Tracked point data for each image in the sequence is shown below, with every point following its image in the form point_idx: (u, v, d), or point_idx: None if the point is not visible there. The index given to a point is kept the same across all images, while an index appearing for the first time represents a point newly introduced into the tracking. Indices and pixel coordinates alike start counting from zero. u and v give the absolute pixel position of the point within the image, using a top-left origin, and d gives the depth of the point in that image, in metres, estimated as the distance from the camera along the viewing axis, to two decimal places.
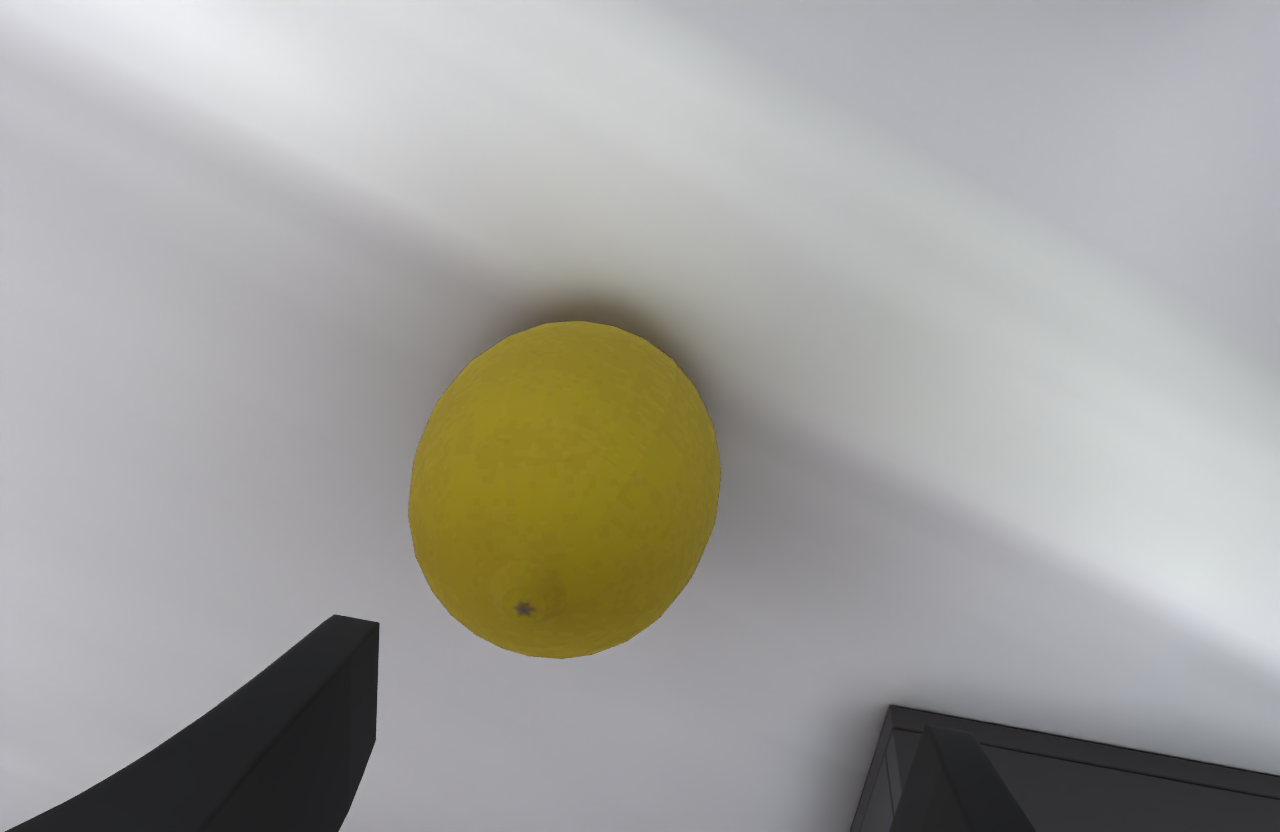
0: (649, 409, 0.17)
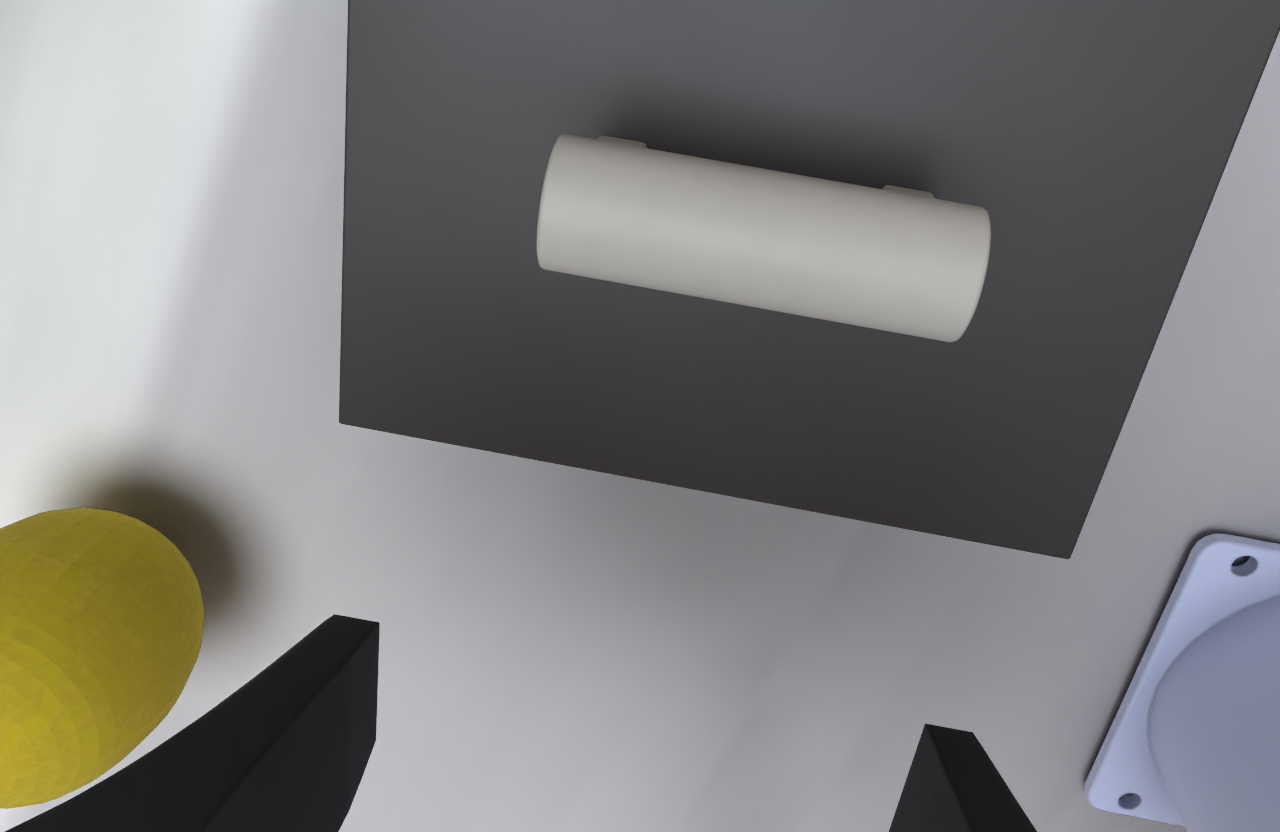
0: None
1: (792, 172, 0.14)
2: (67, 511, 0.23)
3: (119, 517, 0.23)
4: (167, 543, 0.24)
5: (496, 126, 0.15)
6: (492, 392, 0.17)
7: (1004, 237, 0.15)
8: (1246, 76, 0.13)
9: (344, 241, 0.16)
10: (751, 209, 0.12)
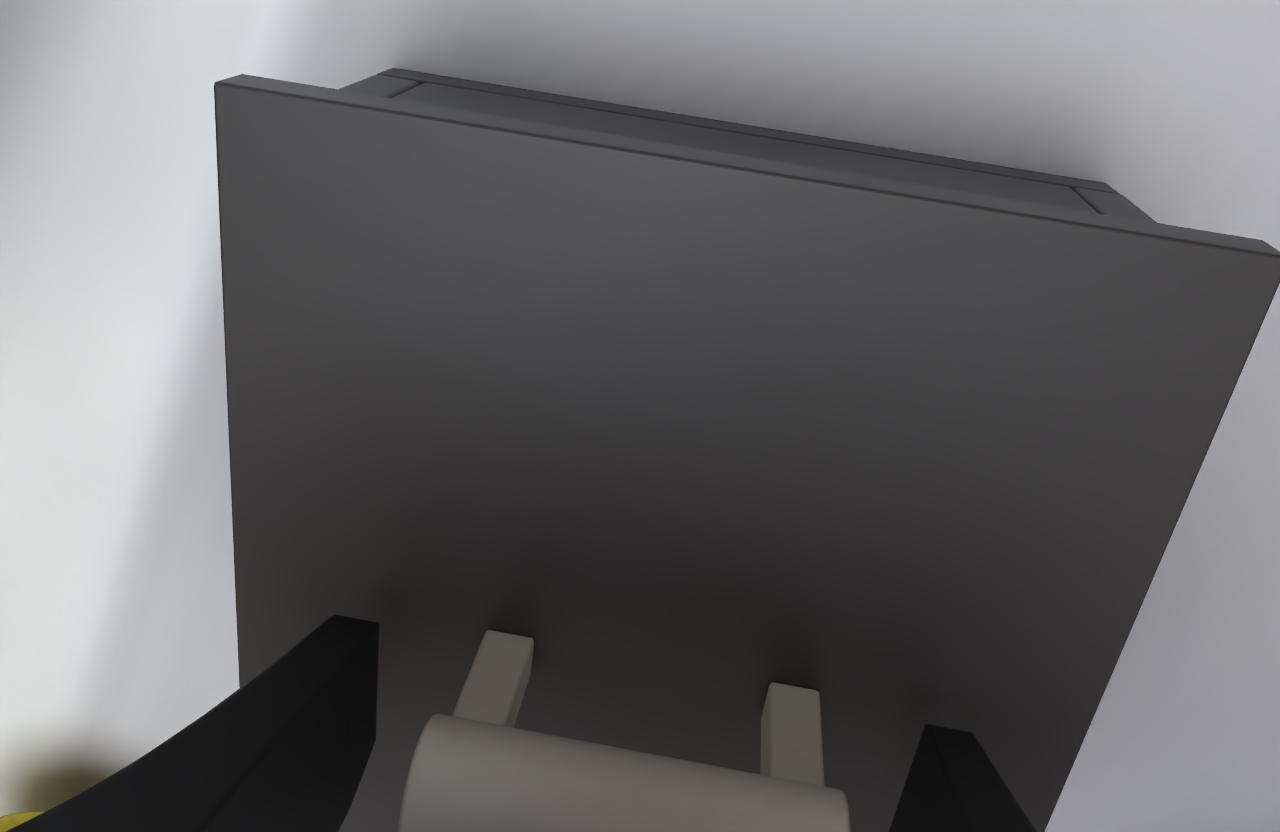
0: None
1: (679, 667, 0.14)
2: (2, 829, 0.23)
3: None
4: None
5: (384, 616, 0.15)
6: (395, 829, 0.17)
7: (893, 728, 0.15)
8: (1124, 610, 0.13)
9: None
10: (608, 830, 0.12)
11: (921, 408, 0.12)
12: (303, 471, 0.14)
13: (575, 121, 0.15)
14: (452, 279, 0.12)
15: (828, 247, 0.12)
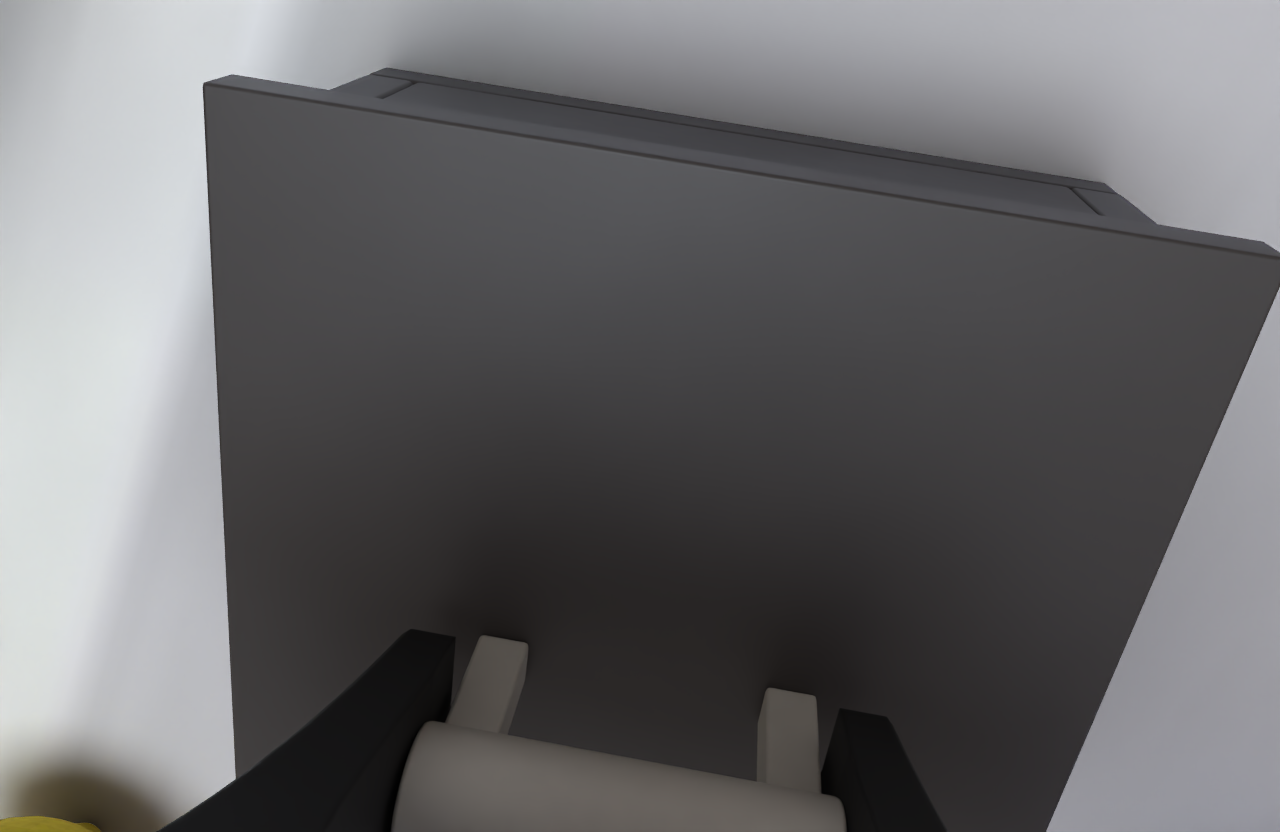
0: None
1: (675, 673, 0.14)
2: None
3: None
4: None
5: (377, 622, 0.15)
6: None
7: None
8: (1123, 614, 0.13)
9: (233, 708, 0.16)
10: None
11: (918, 411, 0.12)
12: (295, 475, 0.14)
13: (569, 121, 0.15)
14: (444, 282, 0.12)
15: (824, 249, 0.12)
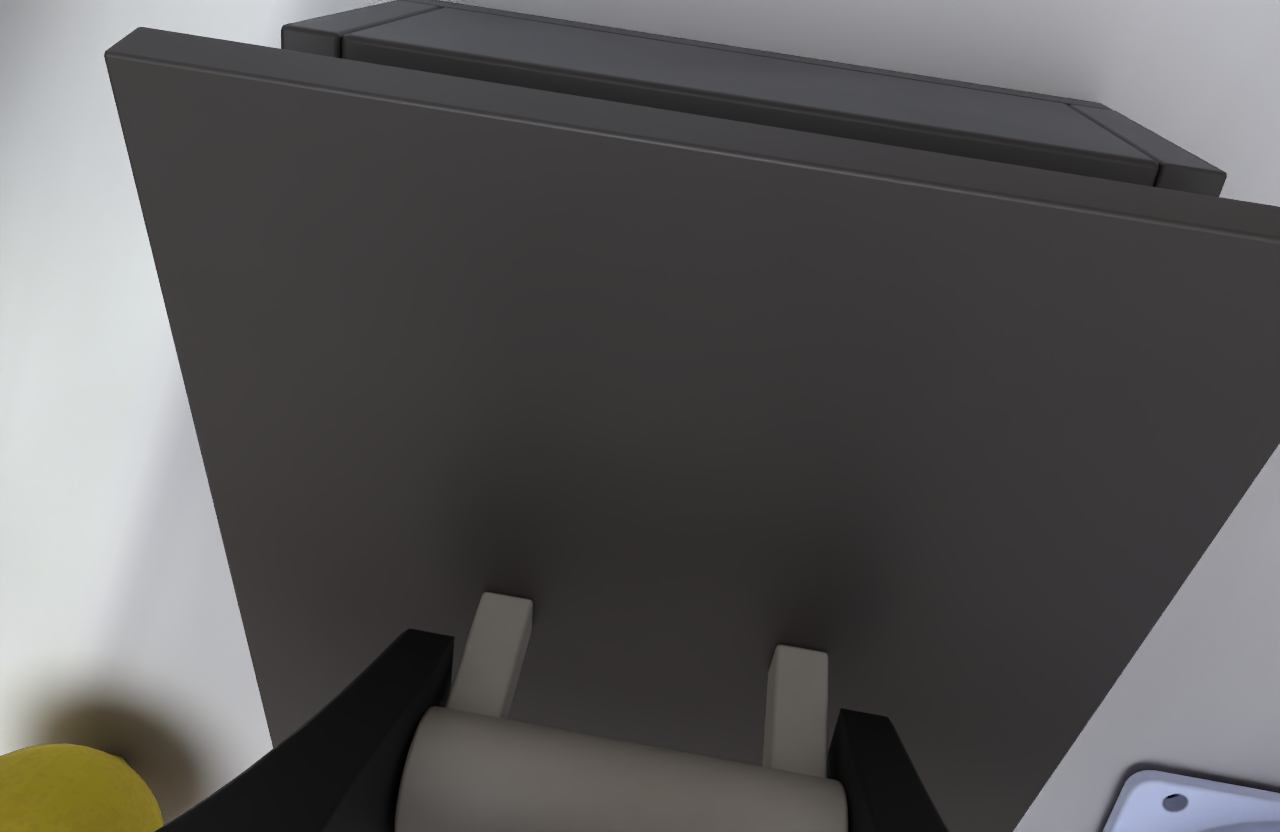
0: None
1: (683, 629, 0.14)
2: (28, 756, 0.24)
3: (80, 757, 0.24)
4: (128, 778, 0.25)
5: (378, 577, 0.14)
6: None
7: (903, 685, 0.14)
8: (1158, 595, 0.12)
9: (248, 642, 0.16)
10: None
11: (946, 405, 0.11)
12: (275, 448, 0.13)
13: (590, 38, 0.16)
14: (410, 268, 0.11)
15: (843, 241, 0.10)
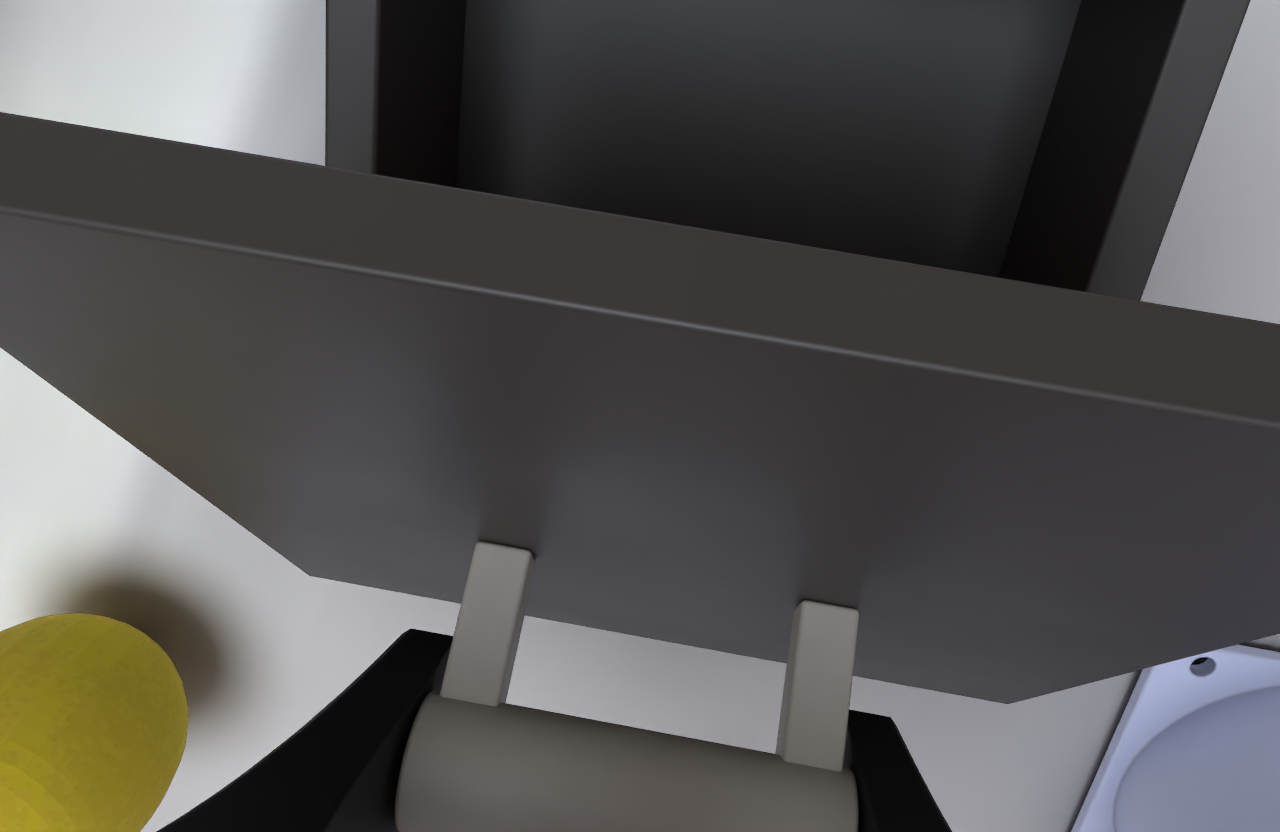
0: None
1: (698, 582, 0.13)
2: (53, 620, 0.24)
3: (104, 623, 0.24)
4: (151, 647, 0.24)
5: (362, 521, 0.13)
6: (440, 590, 0.17)
7: (941, 630, 0.13)
8: (1253, 633, 0.10)
9: None
10: None
11: (1014, 517, 0.08)
12: (206, 449, 0.11)
13: None
14: (293, 366, 0.08)
15: (878, 408, 0.07)
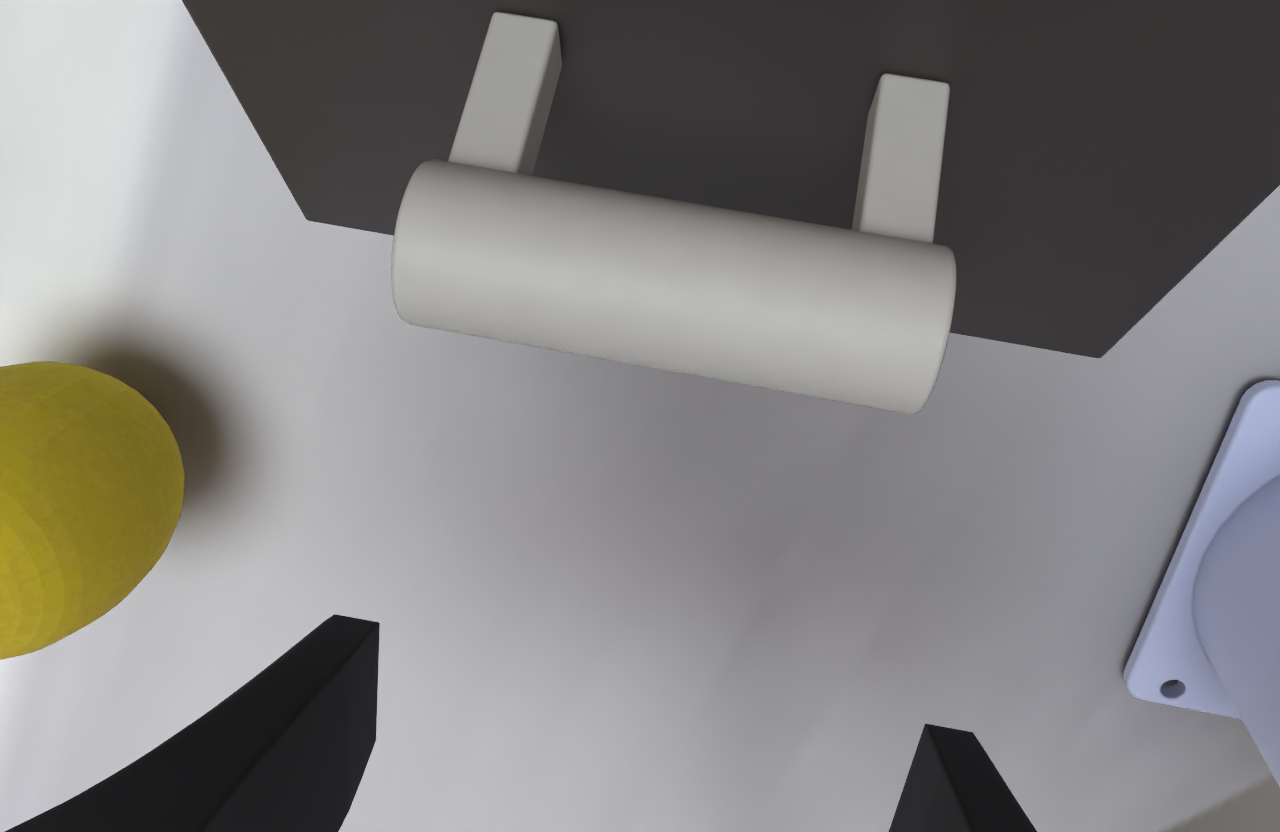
0: None
1: (756, 56, 0.11)
2: (39, 362, 0.22)
3: (94, 371, 0.22)
4: (145, 401, 0.23)
5: None
6: None
7: (1048, 126, 0.11)
8: None
9: (234, 91, 0.13)
10: (642, 319, 0.09)
11: None
12: None
13: None
14: None
15: None
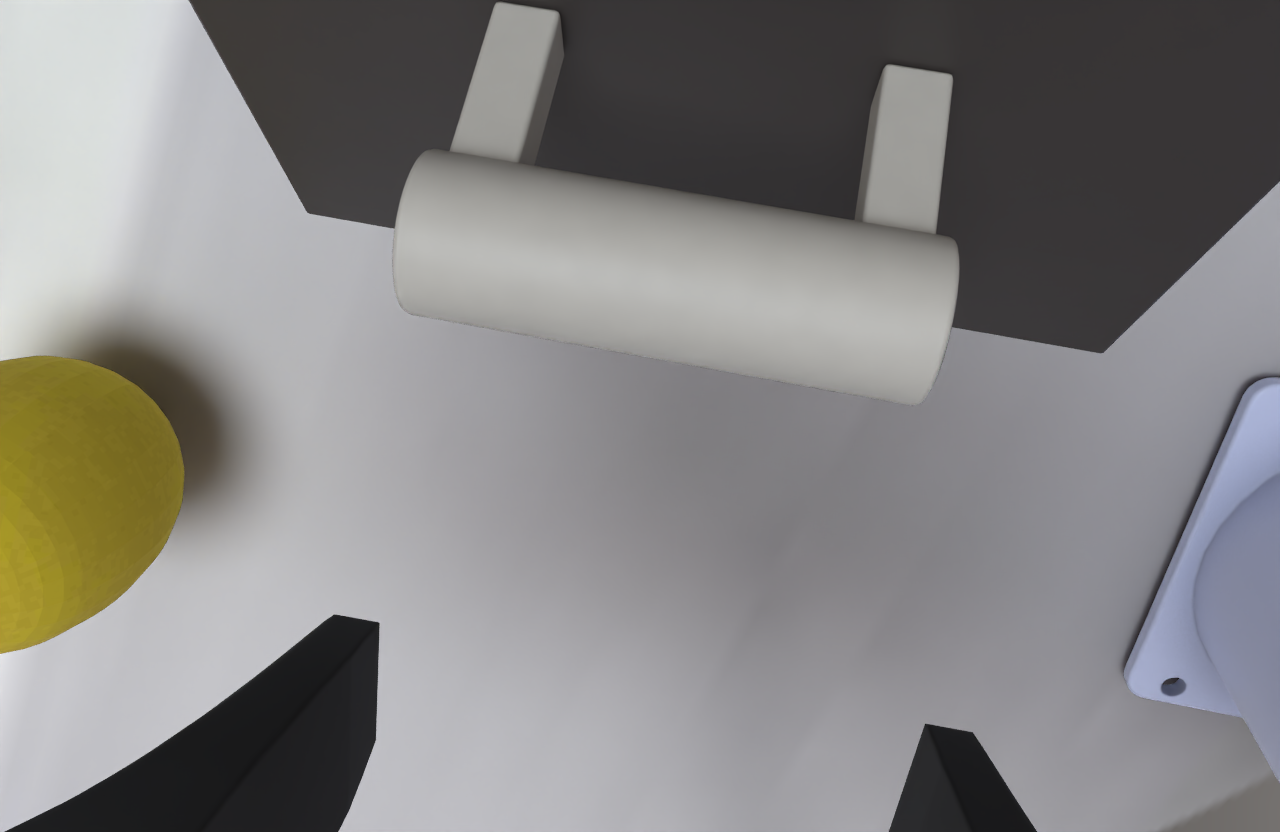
0: None
1: (759, 47, 0.11)
2: (39, 356, 0.22)
3: (94, 365, 0.22)
4: (145, 396, 0.23)
5: None
6: None
7: (1052, 117, 0.11)
8: None
9: (235, 82, 0.13)
10: (644, 309, 0.09)
11: None
12: None
13: None
14: None
15: None
